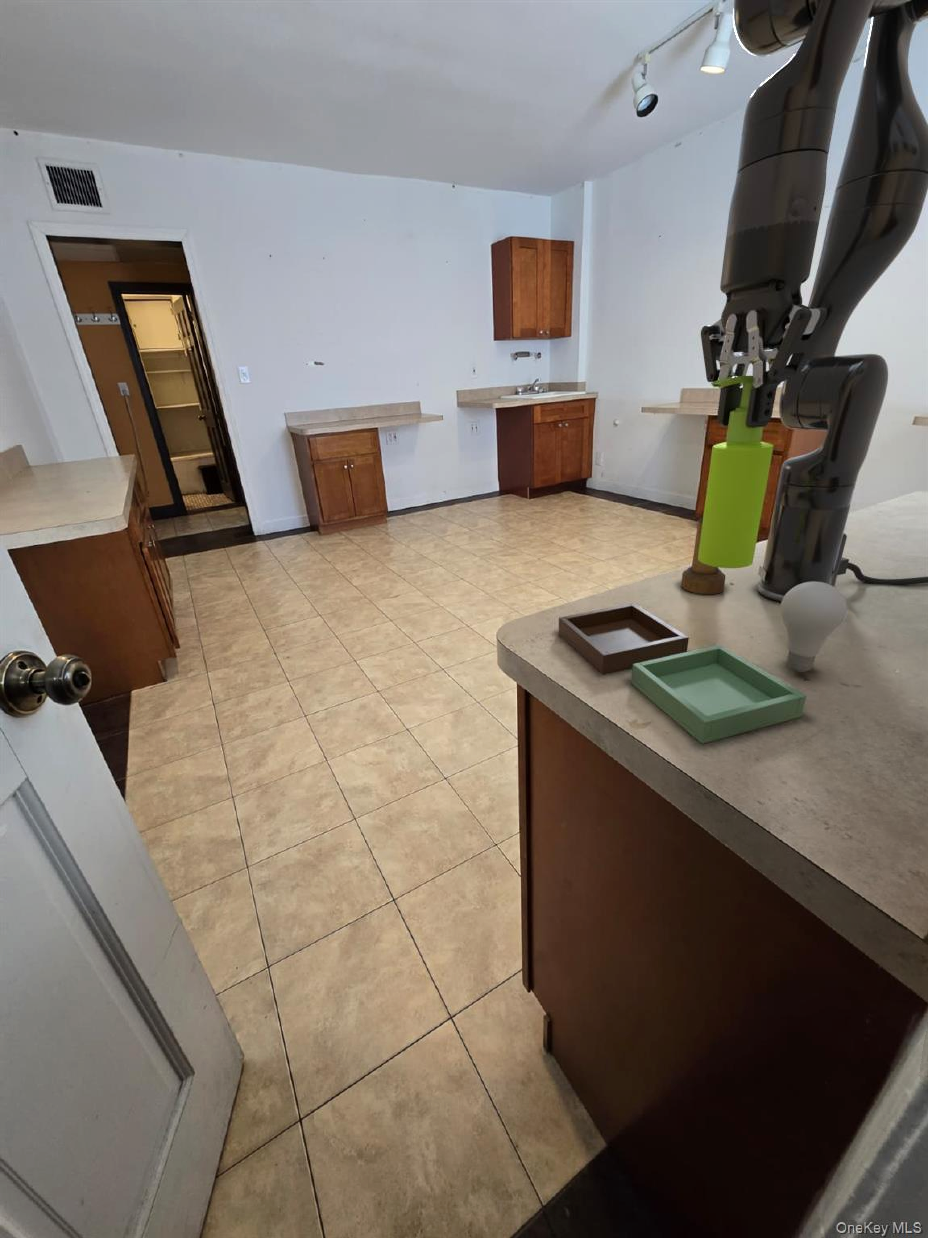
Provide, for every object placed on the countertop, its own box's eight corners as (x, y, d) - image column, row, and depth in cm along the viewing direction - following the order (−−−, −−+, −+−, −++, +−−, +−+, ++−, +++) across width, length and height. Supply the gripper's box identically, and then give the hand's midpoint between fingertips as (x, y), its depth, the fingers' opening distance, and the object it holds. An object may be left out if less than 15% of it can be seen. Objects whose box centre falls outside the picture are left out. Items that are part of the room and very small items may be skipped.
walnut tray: (632, 619, 75) (633, 602, 74) (686, 655, 65) (689, 637, 64) (558, 633, 73) (558, 617, 72) (602, 674, 62) (603, 655, 61)
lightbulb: (821, 661, 62) (843, 575, 57) (836, 688, 56) (862, 595, 52) (763, 655, 64) (781, 572, 59) (773, 681, 58) (792, 591, 54)
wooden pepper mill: (728, 595, 81) (747, 479, 74) (684, 594, 82) (698, 480, 75) (718, 580, 87) (734, 471, 79) (677, 579, 88) (690, 473, 81)
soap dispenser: (680, 555, 64) (701, 378, 55) (734, 550, 64) (763, 373, 55) (704, 571, 58) (732, 377, 50) (763, 565, 59) (800, 372, 50)
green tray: (717, 663, 63) (720, 644, 62) (801, 717, 52) (806, 695, 51) (631, 683, 60) (632, 663, 59) (701, 744, 49) (705, 722, 48)
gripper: (878, 203, 42) (829, 426, 49) (746, 247, 54) (723, 420, 62) (805, 202, 40) (765, 433, 48) (686, 248, 53) (669, 425, 60)
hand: (741, 425), depth 55 cm, fingers closed on soap dispenser, 3 cm apart
